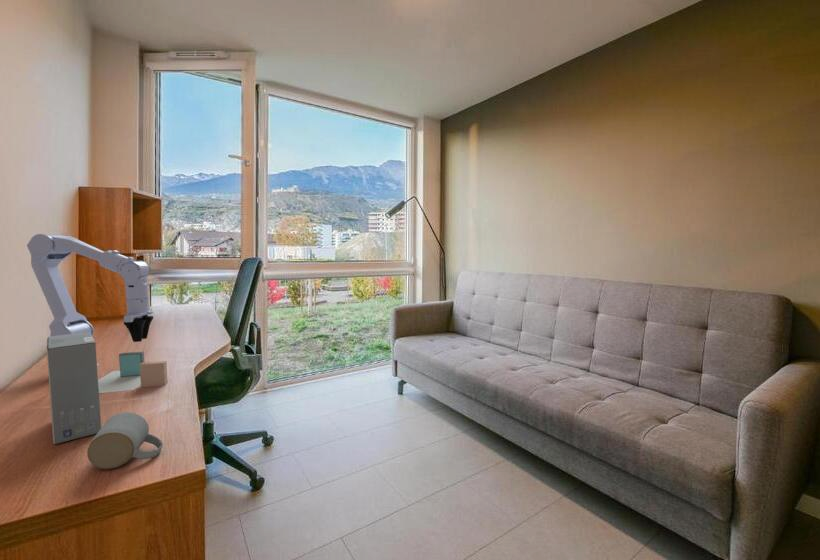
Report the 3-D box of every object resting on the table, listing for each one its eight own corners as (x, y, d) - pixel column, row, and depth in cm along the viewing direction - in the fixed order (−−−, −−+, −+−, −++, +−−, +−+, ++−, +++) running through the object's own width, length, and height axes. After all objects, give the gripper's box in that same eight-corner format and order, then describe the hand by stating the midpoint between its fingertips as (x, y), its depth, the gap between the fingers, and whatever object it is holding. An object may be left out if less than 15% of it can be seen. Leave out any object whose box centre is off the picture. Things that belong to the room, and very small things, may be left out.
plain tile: (144, 386, 106) (142, 362, 106) (167, 384, 108) (166, 360, 107) (141, 388, 105) (139, 364, 104) (165, 386, 106) (163, 362, 105)
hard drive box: (102, 433, 79) (95, 342, 78) (53, 446, 74) (44, 349, 72) (96, 410, 91) (90, 330, 89) (53, 420, 85) (45, 335, 84)
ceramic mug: (84, 476, 64) (82, 434, 64) (103, 452, 72) (101, 414, 71) (156, 464, 68) (155, 424, 68) (167, 442, 76) (166, 406, 75)
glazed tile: (123, 374, 115) (121, 352, 114) (145, 373, 116) (143, 351, 115) (119, 377, 113) (118, 354, 112) (142, 375, 114) (140, 353, 114)
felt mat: (112, 372, 118) (112, 371, 118) (162, 368, 122) (162, 367, 122) (73, 396, 99) (73, 395, 99) (133, 391, 102) (133, 390, 102)
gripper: (141, 301, 113) (144, 344, 114) (160, 295, 127) (163, 334, 128) (114, 302, 111) (117, 346, 112) (137, 296, 125) (139, 335, 126)
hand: (140, 340), depth 120 cm, fingers open, 3 cm apart
